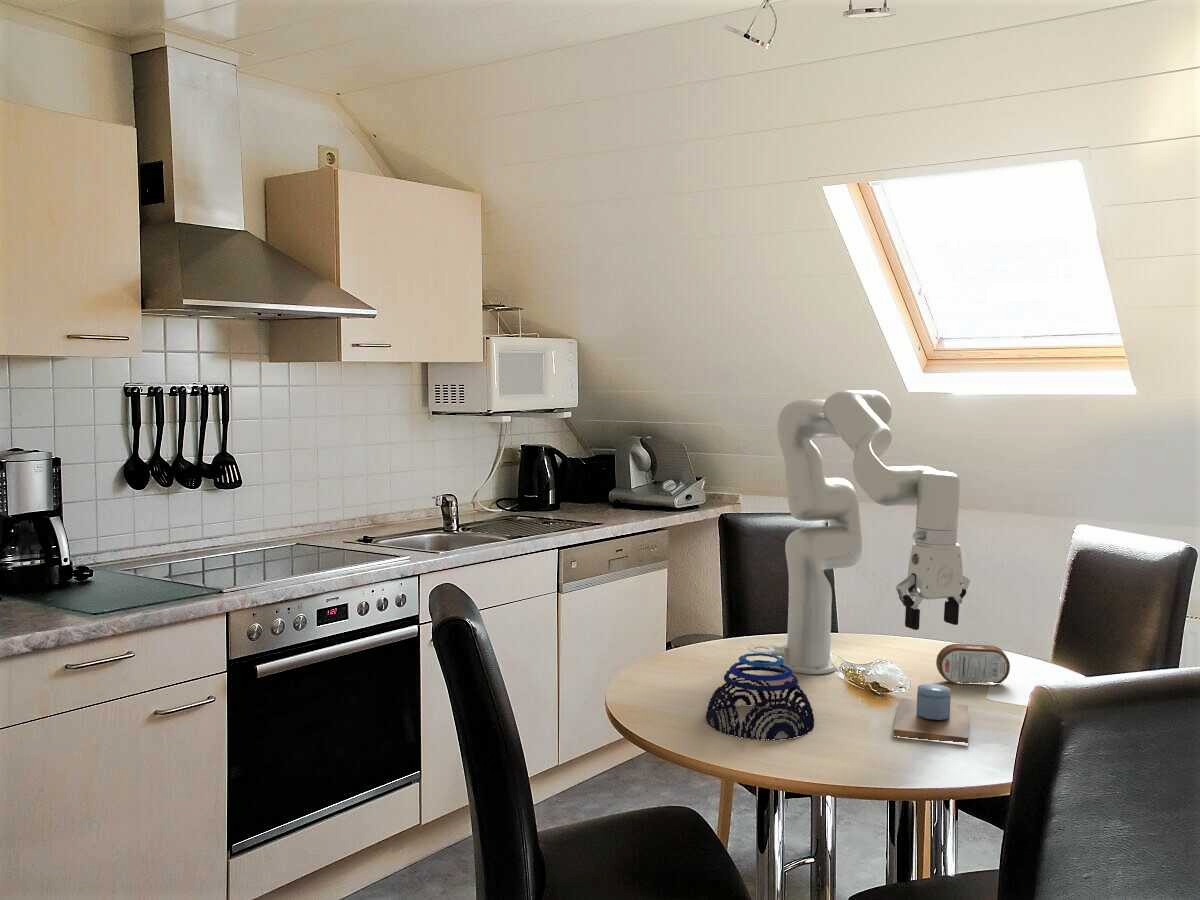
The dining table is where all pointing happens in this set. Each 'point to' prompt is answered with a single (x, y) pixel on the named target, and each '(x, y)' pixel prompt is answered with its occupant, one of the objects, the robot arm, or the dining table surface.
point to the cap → (933, 701)
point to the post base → (931, 723)
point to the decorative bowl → (777, 726)
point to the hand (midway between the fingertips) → (931, 625)
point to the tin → (972, 664)
